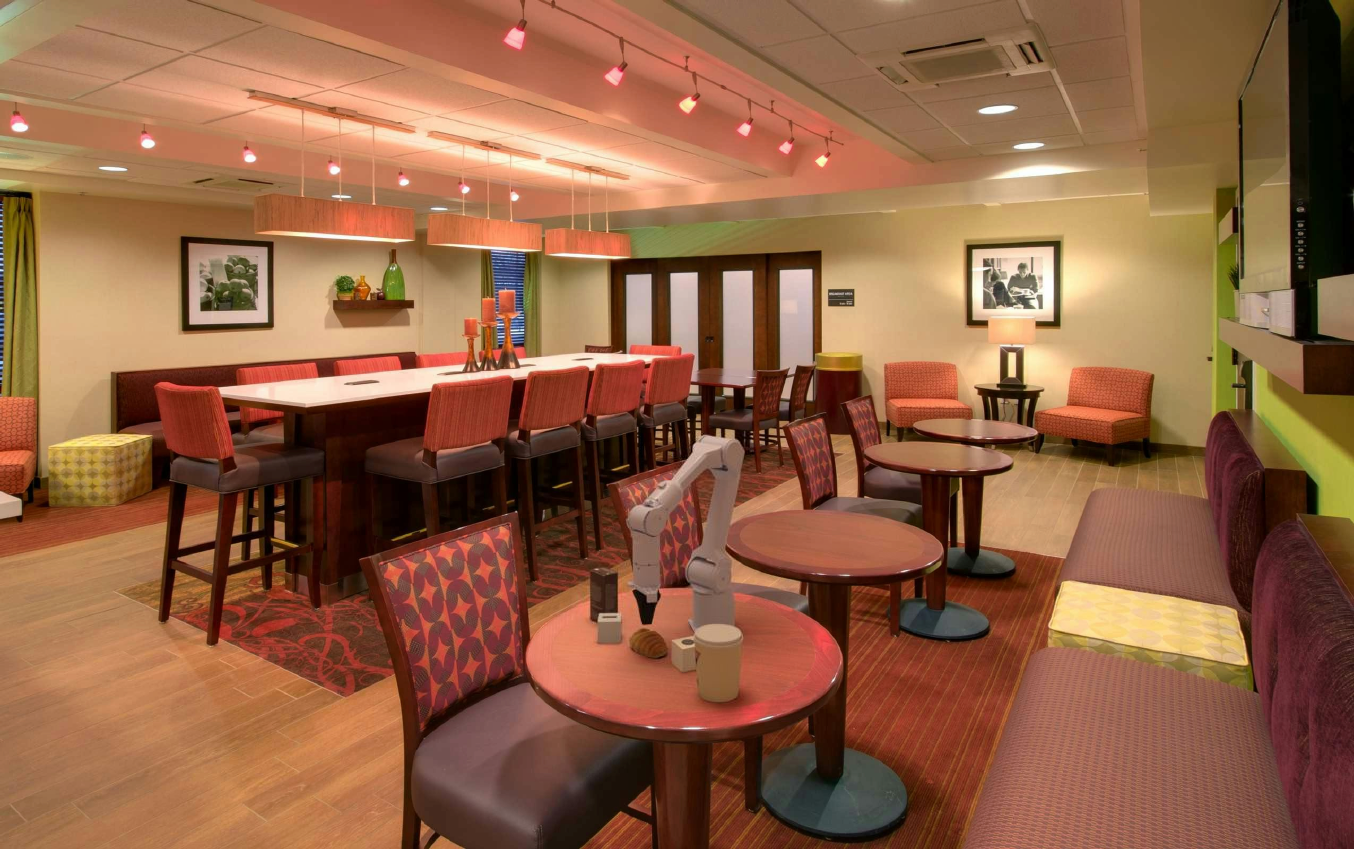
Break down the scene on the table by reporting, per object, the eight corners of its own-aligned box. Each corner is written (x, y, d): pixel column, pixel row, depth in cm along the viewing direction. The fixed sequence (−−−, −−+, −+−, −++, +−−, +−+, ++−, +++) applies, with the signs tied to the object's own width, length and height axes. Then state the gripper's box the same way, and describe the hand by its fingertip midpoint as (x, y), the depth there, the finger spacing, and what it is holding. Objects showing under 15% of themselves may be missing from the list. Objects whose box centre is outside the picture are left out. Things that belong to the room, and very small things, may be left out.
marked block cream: (693, 658, 167) (693, 635, 167) (704, 668, 163) (704, 643, 162) (671, 663, 165) (671, 639, 164) (682, 672, 161) (682, 648, 160)
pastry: (675, 655, 169) (675, 638, 169) (648, 663, 166) (648, 645, 165) (652, 640, 177) (652, 624, 176) (626, 647, 173) (625, 630, 173)
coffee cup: (703, 678, 158) (703, 620, 156) (748, 686, 154) (749, 627, 153) (686, 699, 149) (686, 637, 148) (733, 708, 146) (734, 645, 144)
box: (619, 621, 187) (618, 572, 186) (603, 626, 185) (602, 576, 183) (604, 614, 192) (604, 565, 190) (589, 618, 189) (588, 569, 188)
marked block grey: (621, 634, 180) (621, 612, 180) (620, 643, 175) (620, 620, 175) (599, 634, 180) (599, 612, 179) (597, 643, 175) (597, 621, 174)
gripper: (622, 553, 175) (623, 612, 177) (632, 573, 161) (633, 638, 163) (654, 551, 176) (654, 610, 178) (667, 571, 162) (667, 635, 164)
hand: (646, 623), depth 170 cm, fingers closed
